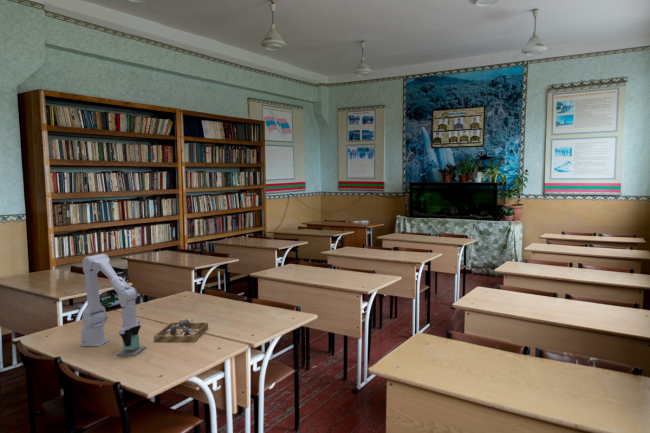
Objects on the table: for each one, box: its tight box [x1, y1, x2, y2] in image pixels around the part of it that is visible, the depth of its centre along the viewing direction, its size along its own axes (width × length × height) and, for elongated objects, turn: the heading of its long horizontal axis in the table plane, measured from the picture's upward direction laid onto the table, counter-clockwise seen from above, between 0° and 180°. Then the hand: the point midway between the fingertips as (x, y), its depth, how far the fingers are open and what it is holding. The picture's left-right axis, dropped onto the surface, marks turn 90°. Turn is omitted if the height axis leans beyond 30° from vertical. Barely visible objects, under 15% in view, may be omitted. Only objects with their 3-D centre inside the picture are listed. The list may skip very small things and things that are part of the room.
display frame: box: [153, 321, 209, 343], centre depth 220 cm, size 20×20×3 cm
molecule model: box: [166, 318, 194, 336], centre depth 223 cm, size 15×9×11 cm
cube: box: [122, 334, 140, 350], centre depth 199 cm, size 5×5×5 cm
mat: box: [116, 346, 147, 357], centre depth 199 cm, size 9×9×1 cm
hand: (130, 343), depth 199 cm, fingers closed on cube, 5 cm apart
